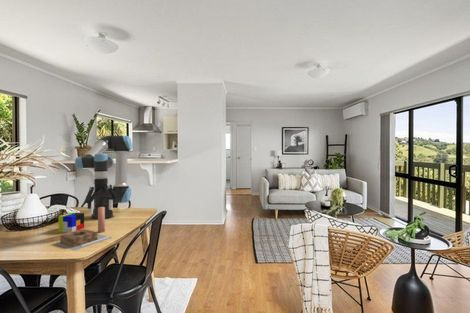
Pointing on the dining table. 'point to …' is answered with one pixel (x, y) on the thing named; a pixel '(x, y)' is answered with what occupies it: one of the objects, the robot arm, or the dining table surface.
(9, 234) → the dining table surface
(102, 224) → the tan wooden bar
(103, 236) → the mat
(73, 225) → the puzzle toy
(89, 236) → the brown wooden square block
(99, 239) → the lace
